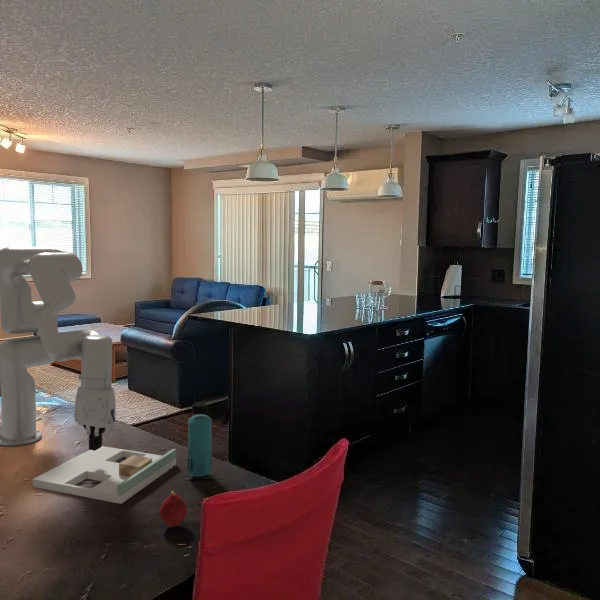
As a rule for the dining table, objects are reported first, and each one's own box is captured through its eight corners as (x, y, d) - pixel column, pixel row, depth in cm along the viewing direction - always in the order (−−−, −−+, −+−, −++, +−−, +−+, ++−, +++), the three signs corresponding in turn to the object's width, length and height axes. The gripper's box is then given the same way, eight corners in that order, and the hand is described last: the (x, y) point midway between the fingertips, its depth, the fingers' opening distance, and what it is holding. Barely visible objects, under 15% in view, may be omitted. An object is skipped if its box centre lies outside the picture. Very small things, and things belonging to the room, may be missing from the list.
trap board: (32, 486, 138) (32, 469, 137) (98, 452, 161) (97, 437, 161) (121, 503, 130) (121, 485, 129) (176, 464, 154) (176, 449, 153)
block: (119, 474, 141) (118, 463, 141) (132, 466, 147) (132, 455, 147) (139, 478, 139) (139, 466, 139) (152, 469, 145) (152, 458, 145)
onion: (191, 523, 122) (192, 488, 121) (177, 535, 116) (178, 499, 116) (169, 518, 124) (169, 484, 123) (154, 530, 118) (154, 495, 117)
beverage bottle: (216, 475, 147) (217, 402, 145) (202, 484, 141) (203, 408, 139) (196, 470, 150) (197, 398, 148) (181, 479, 144) (182, 405, 142)
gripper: (62, 381, 143) (62, 448, 145) (111, 389, 139) (110, 458, 141) (82, 374, 150) (81, 439, 152) (129, 382, 146) (127, 448, 148)
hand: (95, 448), depth 147 cm, fingers closed
